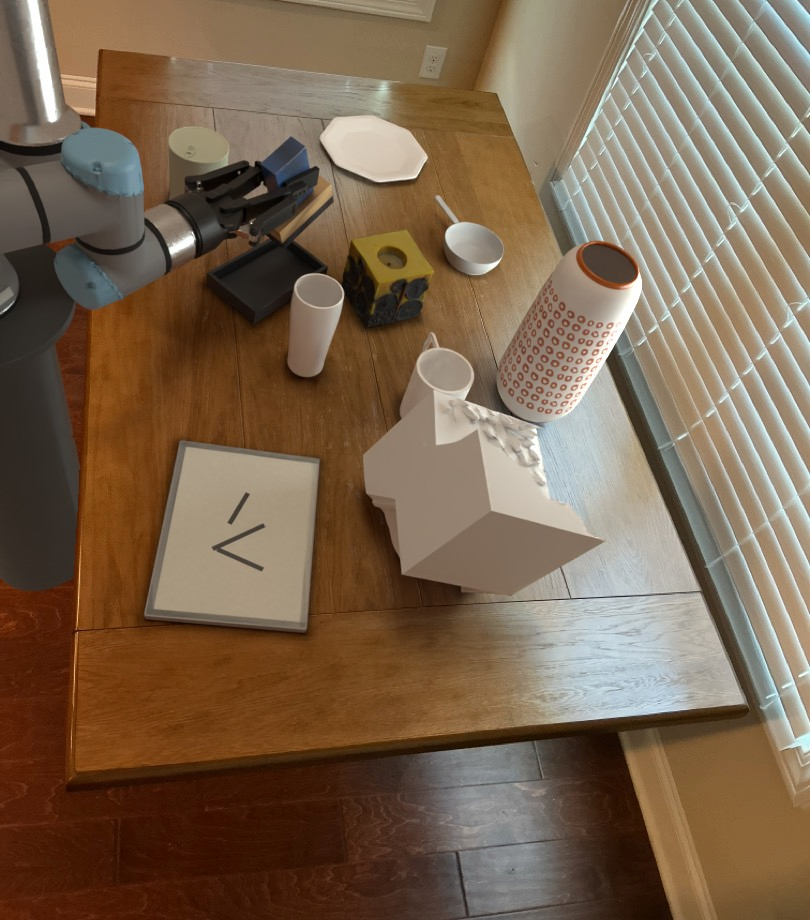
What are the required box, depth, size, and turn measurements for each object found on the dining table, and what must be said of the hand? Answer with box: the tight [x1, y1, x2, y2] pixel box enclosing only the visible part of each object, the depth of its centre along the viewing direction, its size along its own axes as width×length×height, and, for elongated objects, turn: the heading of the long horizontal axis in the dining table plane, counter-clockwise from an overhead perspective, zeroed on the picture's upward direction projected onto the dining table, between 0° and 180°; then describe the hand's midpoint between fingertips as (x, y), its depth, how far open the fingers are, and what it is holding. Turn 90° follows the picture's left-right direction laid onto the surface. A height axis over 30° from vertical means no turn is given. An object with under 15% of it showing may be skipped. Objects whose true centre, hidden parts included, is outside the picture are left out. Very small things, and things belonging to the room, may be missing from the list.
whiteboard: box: [143, 439, 321, 634], centre depth 92 cm, size 18×24×1 cm
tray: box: [205, 238, 329, 325], centre depth 117 cm, size 16×10×3 cm, turn 141°
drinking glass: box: [286, 273, 345, 378], centre depth 105 cm, size 7×7×15 cm
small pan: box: [433, 195, 505, 276], centre depth 133 cm, size 11×18×4 cm, turn 32°
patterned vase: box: [496, 240, 643, 423], centre depth 106 cm, size 13×13×28 cm
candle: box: [340, 229, 435, 328], centre depth 118 cm, size 10×10×10 cm
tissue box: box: [362, 390, 607, 597], centre depth 90 cm, size 20×16×25 cm
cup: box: [399, 331, 475, 419], centre depth 108 cm, size 8×12×10 cm
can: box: [167, 125, 230, 200], centre depth 119 cm, size 9×9×12 cm
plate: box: [318, 114, 428, 184], centre depth 144 cm, size 20×20×2 cm
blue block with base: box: [260, 136, 335, 249], centre depth 106 cm, size 11×5×13 cm, turn 141°
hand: (307, 168), depth 107 cm, fingers closed on blue block with base, 3 cm apart
